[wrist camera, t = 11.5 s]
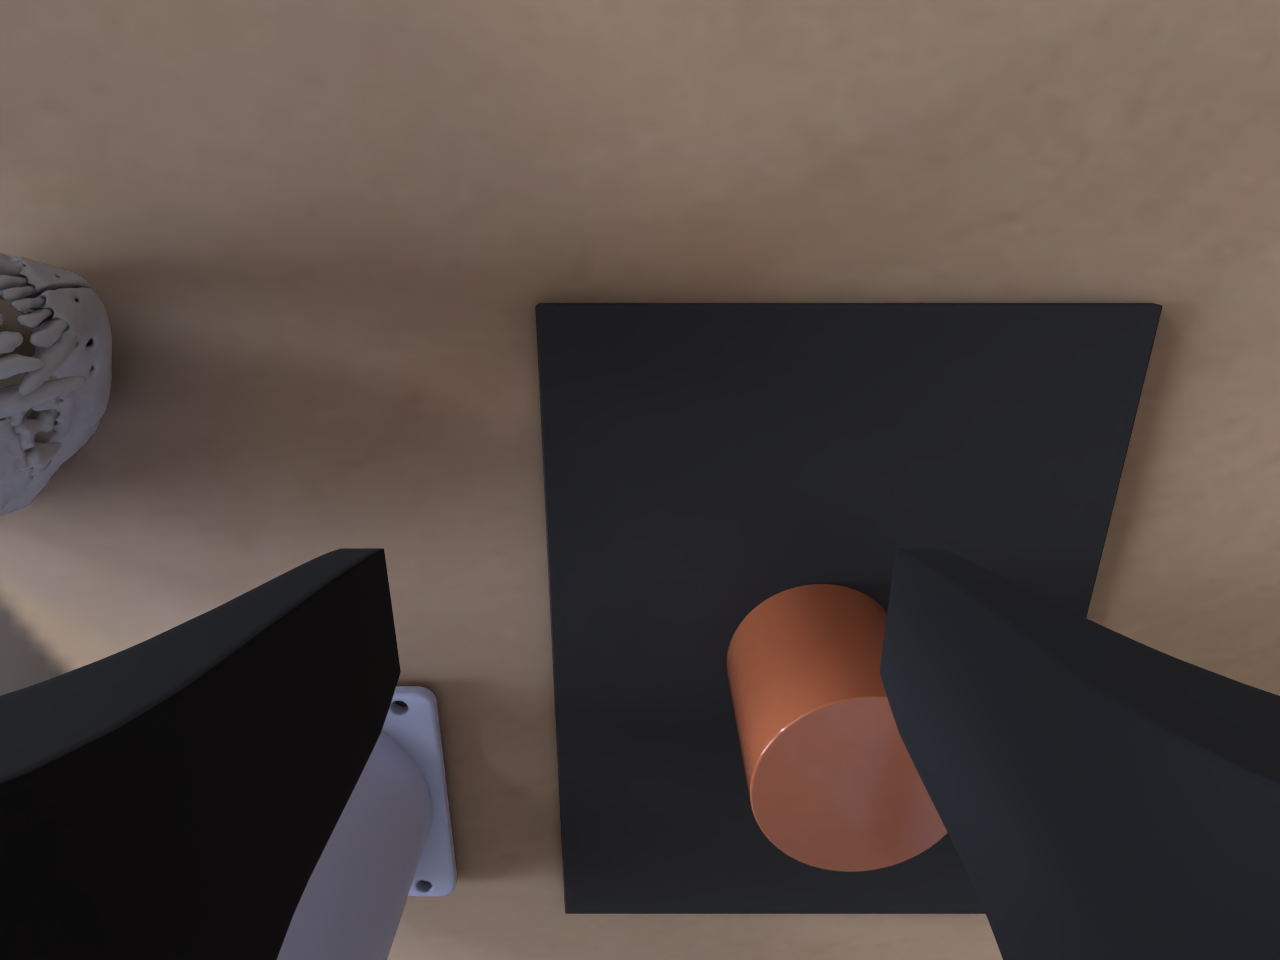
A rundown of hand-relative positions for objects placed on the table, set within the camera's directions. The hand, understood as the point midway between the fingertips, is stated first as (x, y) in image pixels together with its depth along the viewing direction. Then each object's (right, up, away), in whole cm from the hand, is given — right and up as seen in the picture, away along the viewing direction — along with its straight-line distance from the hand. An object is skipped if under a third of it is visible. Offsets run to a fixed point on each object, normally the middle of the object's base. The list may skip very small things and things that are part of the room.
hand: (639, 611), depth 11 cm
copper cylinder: (+5, -3, +11) cm, 12 cm away
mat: (+5, -3, +11) cm, 13 cm away
